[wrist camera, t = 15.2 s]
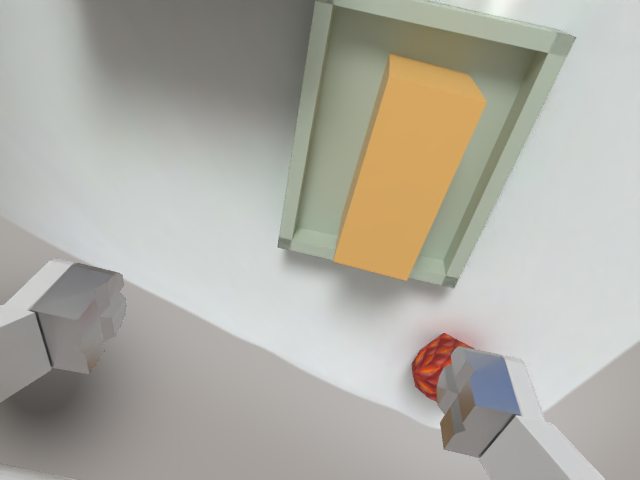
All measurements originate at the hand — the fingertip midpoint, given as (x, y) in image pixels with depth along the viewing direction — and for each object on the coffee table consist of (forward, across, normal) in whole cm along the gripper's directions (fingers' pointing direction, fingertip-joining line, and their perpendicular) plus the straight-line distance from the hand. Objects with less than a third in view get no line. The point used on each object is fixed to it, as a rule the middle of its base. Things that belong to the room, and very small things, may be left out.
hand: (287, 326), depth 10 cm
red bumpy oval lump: (+21, -15, +21) cm, 33 cm away
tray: (+21, -5, +3) cm, 22 cm away
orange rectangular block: (+21, -5, +4) cm, 22 cm away
